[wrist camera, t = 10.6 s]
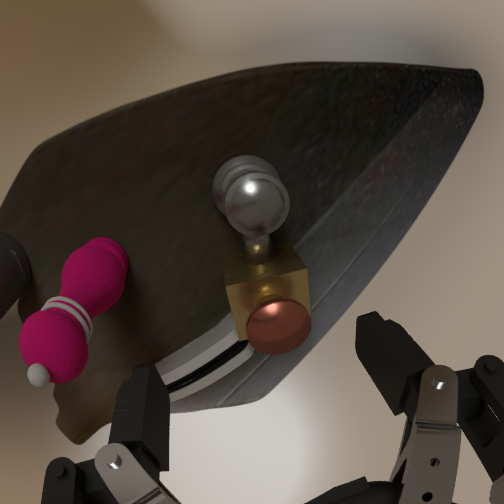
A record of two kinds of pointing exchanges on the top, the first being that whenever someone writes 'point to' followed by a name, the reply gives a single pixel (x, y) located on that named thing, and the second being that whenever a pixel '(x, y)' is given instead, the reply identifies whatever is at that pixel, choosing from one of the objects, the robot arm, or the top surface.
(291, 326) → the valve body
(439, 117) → the top surface
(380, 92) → the top surface
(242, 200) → the door knob
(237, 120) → the top surface
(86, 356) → the pepper mill
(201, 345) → the hinge
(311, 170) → the top surface
